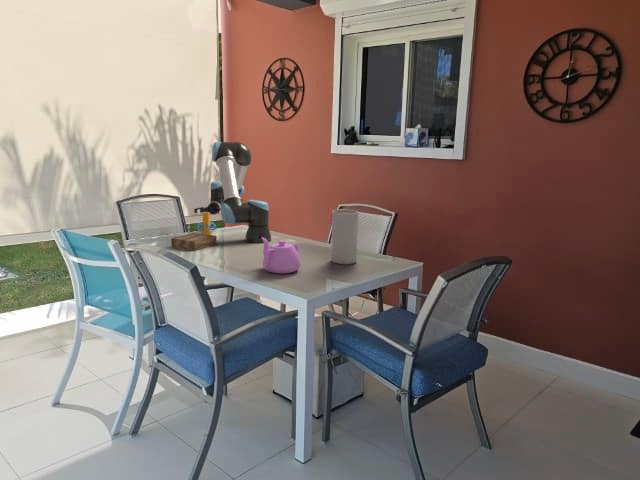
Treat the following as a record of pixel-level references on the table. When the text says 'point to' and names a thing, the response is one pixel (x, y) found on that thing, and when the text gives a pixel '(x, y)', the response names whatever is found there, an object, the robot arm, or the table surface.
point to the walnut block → (194, 241)
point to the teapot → (281, 257)
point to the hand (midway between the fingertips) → (208, 213)
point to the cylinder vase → (344, 236)
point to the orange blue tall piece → (206, 224)
